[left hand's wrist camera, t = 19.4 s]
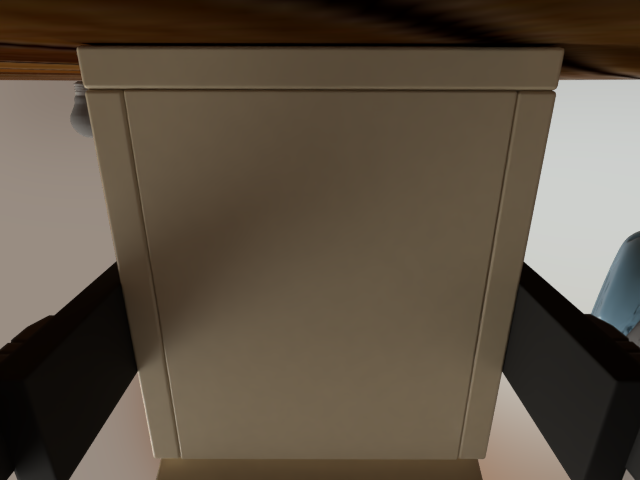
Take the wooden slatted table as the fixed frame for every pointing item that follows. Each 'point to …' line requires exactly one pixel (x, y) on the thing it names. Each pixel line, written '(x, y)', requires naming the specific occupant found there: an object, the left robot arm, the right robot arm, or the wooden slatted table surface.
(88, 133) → the light bulb
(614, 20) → the wooden slatted table surface
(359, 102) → the chest
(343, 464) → the lid
